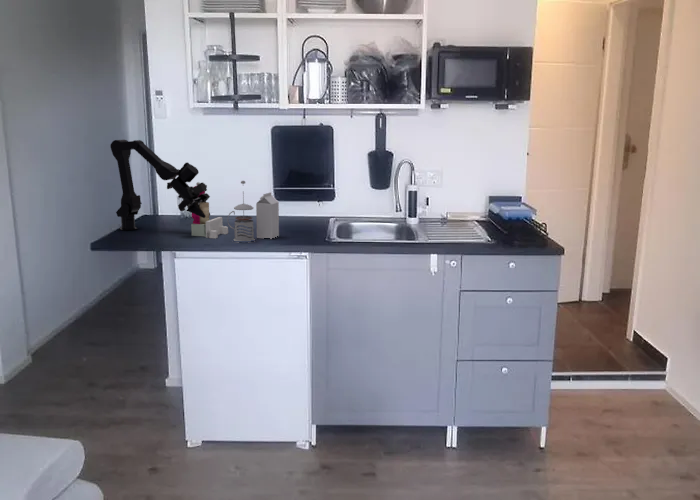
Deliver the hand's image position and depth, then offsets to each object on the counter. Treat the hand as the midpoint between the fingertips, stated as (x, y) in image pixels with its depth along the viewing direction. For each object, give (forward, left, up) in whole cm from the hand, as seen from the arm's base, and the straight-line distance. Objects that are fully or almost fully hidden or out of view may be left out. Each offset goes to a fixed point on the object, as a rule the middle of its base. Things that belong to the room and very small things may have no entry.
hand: (207, 216), depth 274 cm
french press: (+17, +9, -8) cm, 21 cm away
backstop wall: (+3, +3, -8) cm, 9 cm away
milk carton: (+16, +21, -8) cm, 28 cm away
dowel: (-1, -1, -7) cm, 7 cm away
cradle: (-1, -1, -8) cm, 8 cm away
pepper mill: (-26, +4, -8) cm, 27 cm away
